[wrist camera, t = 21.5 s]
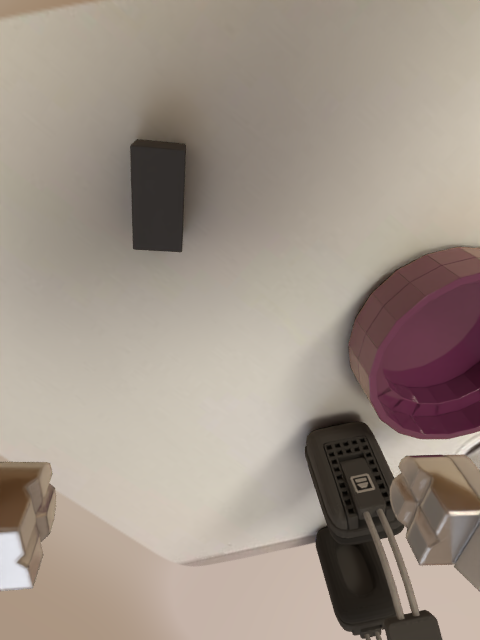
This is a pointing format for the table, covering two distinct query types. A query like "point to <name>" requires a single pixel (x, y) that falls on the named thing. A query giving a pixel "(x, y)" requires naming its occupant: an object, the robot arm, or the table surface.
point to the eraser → (157, 195)
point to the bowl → (423, 346)
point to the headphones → (361, 535)
